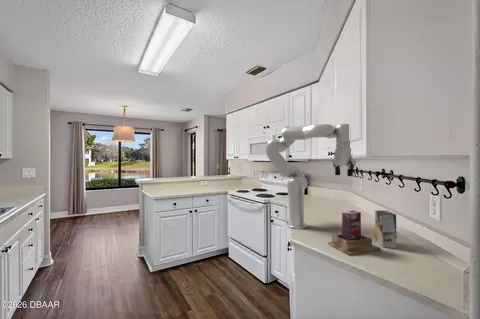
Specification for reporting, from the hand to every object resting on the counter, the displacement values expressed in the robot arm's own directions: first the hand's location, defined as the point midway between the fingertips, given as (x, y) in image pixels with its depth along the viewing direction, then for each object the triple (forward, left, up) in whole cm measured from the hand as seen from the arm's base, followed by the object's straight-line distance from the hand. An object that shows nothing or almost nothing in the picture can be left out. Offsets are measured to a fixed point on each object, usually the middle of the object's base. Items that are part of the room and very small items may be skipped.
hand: (343, 175), depth 129 cm
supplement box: (+18, -12, -32) cm, 39 cm away
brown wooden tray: (+18, -11, -33) cm, 39 cm away
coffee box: (+20, +7, -34) cm, 40 cm away
